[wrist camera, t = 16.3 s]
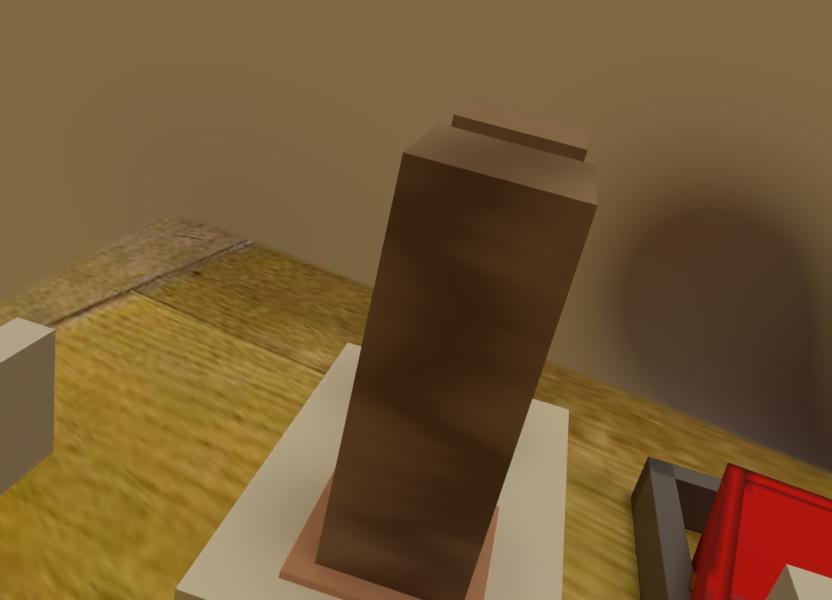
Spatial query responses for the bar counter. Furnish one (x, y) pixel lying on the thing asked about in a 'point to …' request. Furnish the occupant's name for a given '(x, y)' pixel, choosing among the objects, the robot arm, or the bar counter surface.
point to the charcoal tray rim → (668, 526)
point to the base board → (317, 456)
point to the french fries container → (759, 537)
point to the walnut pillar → (452, 355)
